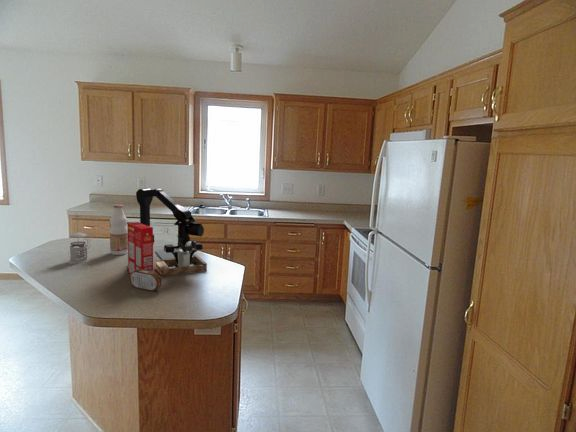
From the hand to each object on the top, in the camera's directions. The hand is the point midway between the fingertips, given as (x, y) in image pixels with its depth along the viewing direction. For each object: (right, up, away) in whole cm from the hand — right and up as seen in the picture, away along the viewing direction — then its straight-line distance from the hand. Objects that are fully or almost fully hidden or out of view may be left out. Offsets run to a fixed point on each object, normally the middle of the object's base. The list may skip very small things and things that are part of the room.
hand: (183, 263), depth 196 cm
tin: (-8, -8, -31) cm, 33 cm away
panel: (0, -3, 0) cm, 3 cm away
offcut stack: (-9, -3, -5) cm, 11 cm away
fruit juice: (-43, +3, +21) cm, 48 cm away
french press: (-56, +1, +4) cm, 56 cm away
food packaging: (-16, -5, -15) cm, 23 cm away
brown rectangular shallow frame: (-2, -3, -1) cm, 3 cm away
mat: (-13, +2, +22) cm, 26 cm away
